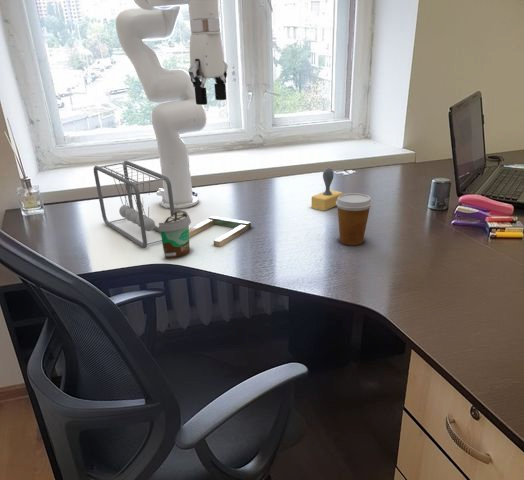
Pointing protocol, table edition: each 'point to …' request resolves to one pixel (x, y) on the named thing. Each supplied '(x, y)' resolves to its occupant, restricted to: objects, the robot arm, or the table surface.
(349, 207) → the disposable coffee cup
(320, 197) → the rubber stamp
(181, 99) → the robot arm
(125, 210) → the newton's cradle
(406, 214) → the table surface
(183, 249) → the food container
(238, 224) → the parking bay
